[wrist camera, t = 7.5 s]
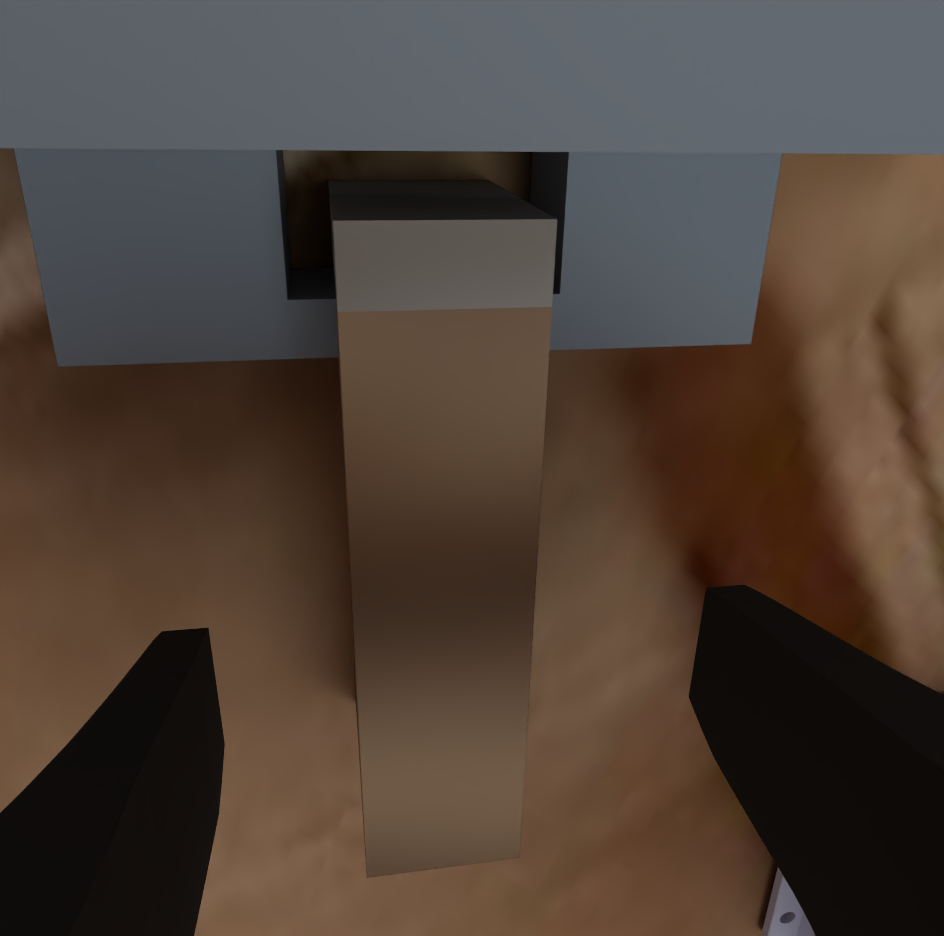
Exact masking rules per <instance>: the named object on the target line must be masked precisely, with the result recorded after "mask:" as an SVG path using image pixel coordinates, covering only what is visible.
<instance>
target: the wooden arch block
mask: <svg viewBox="0 0 944 936" xmlns="http://www.w3.org/2000/svg"><path fill="white" fill-rule="evenodd" d="M328 183H329V202H330V221H331V239H332V254H333V265H334V278H335V297H336V316H337V335H338V354H339V373H340V393H341V412H342V431H343V450H344V469H345V488H346V507H347V526H348V546H349V565H350V584H351V603H352V622H353V641H354V660H355V663H354V675H355V694H356V712H357V728H358V744H359V760H360V776H361V792H362V808H363V824H364V840H365V856H366V872H367V878H369V877H376V876H384V875H392V874H399V873H407V872H414V871H422V870H429V869H437V868H444V867H452V866H459V865H467V864H474V863H482V862H489V861H497V860H504V859H512V858H519V857H520V841H521V825H522V808H523V791H524V774H525V757H526V740H527V723H528V706H529V689H530V672H531V655H532V638H533V621H534V604H535V587H536V571H537V554H538V537H539V520H540V503H541V486H542V469H543V452H544V435H545V418H546V401H547V384H548V367H549V350H550V333H551V317H552V300H553V283H554V266H555V249H556V232H557V219H556V218H554V217H552V216H551V215H549V214H547V213H545V212H544V211H542V210H540V209H538V208H537V207H535V206H533V205H531V204H530V203H528V202H526V201H524V200H523V199H521V198H519V197H517V196H516V195H514V194H512V193H510V192H509V191H507V190H505V189H503V188H501V187H500V186H498V185H496V184H494V183H493V182H491V181H489V180H328Z"/></svg>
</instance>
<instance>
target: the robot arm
mask: <svg viewBox="0 0 944 936" xmlns="http://www.w3.org/2000/svg"><path fill="white" fill-rule="evenodd" d="M689 699H690V701H691V704H692V706H693V709H694V711H695V714H696V716H697V719H698V721H699V724H700V726H701V729H702V731H703V733H704V736H705V738H706V740H707V743H708V745H709V747H710V749H711V752H712V754H713V756H714V758H715V760H716V762H717V764H718V765H719V767H720V769H721V771H722V772H723V774H724V776H725V778H726V779H727V781H728V783H729V785H730V786H731V788H732V790H733V791H734V793H735V795H736V797H737V798H738V800H739V802H740V804H741V805H742V807H743V809H744V810H745V812H746V814H747V815H748V817H749V819H750V821H751V822H752V824H753V826H754V827H755V829H756V831H757V832H758V834H759V836H760V837H761V839H762V841H763V842H764V844H765V846H766V848H767V849H768V851H769V853H770V854H771V856H772V858H773V859H774V861H775V863H776V864H777V866H778V869H777V873H776V877H775V881H774V885H773V889H772V893H771V897H770V901H769V905H768V909H767V914H766V918H765V922H764V926H763V930H762V936H944V695H942V694H940V693H938V692H936V691H934V690H932V689H930V688H929V687H927V686H925V685H923V684H921V683H919V682H917V681H915V680H913V679H911V678H909V677H907V676H905V675H903V674H902V673H900V672H898V671H896V670H894V669H892V668H891V667H889V666H887V665H885V664H883V663H882V662H880V661H878V660H876V659H874V658H873V657H871V656H869V655H867V654H866V653H864V652H862V651H860V650H859V649H857V648H855V647H853V646H852V645H850V644H848V643H846V642H845V641H843V640H841V639H840V638H838V637H836V636H834V635H833V634H831V633H829V632H828V631H826V630H824V629H823V628H821V627H819V626H817V625H816V624H814V623H812V622H811V621H809V620H807V619H806V618H804V617H802V616H800V615H799V614H797V613H795V612H794V611H792V610H790V609H789V608H787V607H785V606H783V605H782V604H780V603H778V602H776V601H775V600H773V599H771V598H769V597H767V596H766V595H764V594H762V593H760V592H758V591H756V590H754V589H752V588H750V587H748V586H746V585H736V586H723V587H711V588H706V592H705V598H704V605H703V611H702V617H701V623H700V630H699V636H698V642H697V648H696V655H695V661H694V667H693V673H692V680H691V686H690V692H689ZM224 745H225V743H224V736H223V729H222V722H221V715H220V707H219V700H218V693H217V686H216V679H215V672H214V665H213V658H212V651H211V643H210V636H209V629H208V628H199V629H187V630H174V631H162V632H161V633H160V634H159V635H158V636H157V637H156V638H155V639H154V640H153V641H152V643H151V644H150V645H149V646H148V648H147V649H146V650H145V651H144V653H143V654H142V655H141V657H140V658H139V659H138V660H137V662H136V663H135V664H134V665H133V667H132V668H131V669H130V670H129V672H128V673H127V674H126V675H125V677H124V678H123V679H122V680H121V682H120V683H119V684H118V685H117V687H116V688H115V689H114V690H113V691H112V693H111V694H110V695H109V696H108V698H107V699H106V700H105V701H104V702H103V704H102V705H101V706H100V707H99V708H98V709H97V710H96V712H95V713H94V714H93V715H92V716H91V717H90V719H89V720H88V721H87V722H86V723H85V724H84V726H83V727H82V728H81V729H80V730H79V731H78V733H77V734H76V735H75V736H74V737H73V738H72V739H71V740H70V742H69V743H68V744H67V745H66V746H65V747H64V748H63V749H62V750H61V751H60V752H59V753H58V755H57V756H56V757H55V758H54V759H53V760H52V761H51V762H50V763H49V764H48V765H47V766H46V767H45V768H44V769H43V770H42V771H41V772H40V773H39V774H38V775H37V777H36V778H35V779H34V780H33V781H32V782H31V783H30V784H29V785H28V786H27V787H26V788H25V789H24V790H23V791H22V792H21V793H20V794H19V795H18V796H17V797H16V798H15V799H14V800H13V801H12V802H11V803H10V804H9V805H8V806H7V807H6V808H5V809H4V810H3V811H2V812H1V813H0V936H194V933H195V928H196V924H197V919H198V914H199V909H200V904H201V899H202V895H203V890H204V885H205V880H206V875H207V870H208V865H209V861H210V856H211V851H212V846H213V841H214V836H215V831H216V826H217V820H218V815H219V807H220V796H221V784H222V772H223V759H224Z"/></svg>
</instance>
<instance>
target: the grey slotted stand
mask: <svg viewBox="0 0 944 936" xmlns="http://www.w3.org/2000/svg"><path fill="white" fill-rule="evenodd" d="M0 148H14V151H15V156H16V161H17V166H18V171H19V176H20V181H21V186H22V191H23V196H24V201H25V206H26V211H27V216H28V221H29V226H30V231H31V236H32V241H33V246H34V250H35V255H36V260H37V265H38V270H39V275H40V280H41V285H42V290H43V295H44V300H45V305H46V310H47V315H48V320H49V325H50V330H51V335H52V340H53V345H54V350H55V355H56V360H57V365H58V367H64V366H94V365H124V364H155V363H185V362H215V361H246V360H276V359H306V358H337V357H339V354H338V335H337V316H336V297H335V278H334V269H292V268H291V254H290V240H289V227H288V213H287V200H286V186H285V173H284V159H283V150H350V151H502V152H532V167H531V189H530V204H531V205H533V206H535V207H537V208H538V209H540V210H542V211H544V212H545V213H547V214H549V215H551V216H552V217H554V218H556V219H557V232H556V249H555V266H554V283H553V300H552V317H551V333H550V350H579V349H610V348H640V347H670V346H701V345H731V344H751V340H752V334H753V328H754V322H755V316H756V309H757V303H758V297H759V291H760V285H761V279H762V273H763V267H764V261H765V255H766V249H767V243H768V236H769V230H770V224H771V218H772V212H773V206H774V200H775V194H776V188H777V182H778V176H779V170H780V164H781V157H782V153H807V154H944V0H0Z"/></svg>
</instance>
